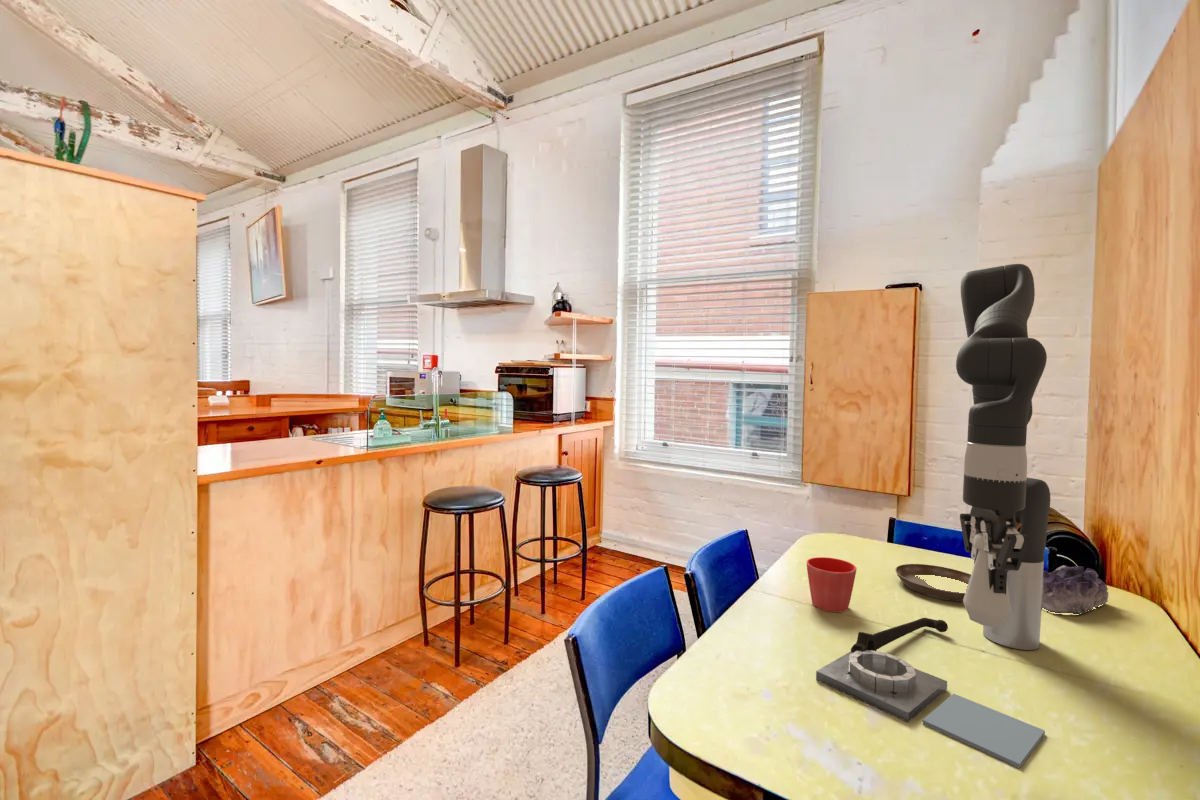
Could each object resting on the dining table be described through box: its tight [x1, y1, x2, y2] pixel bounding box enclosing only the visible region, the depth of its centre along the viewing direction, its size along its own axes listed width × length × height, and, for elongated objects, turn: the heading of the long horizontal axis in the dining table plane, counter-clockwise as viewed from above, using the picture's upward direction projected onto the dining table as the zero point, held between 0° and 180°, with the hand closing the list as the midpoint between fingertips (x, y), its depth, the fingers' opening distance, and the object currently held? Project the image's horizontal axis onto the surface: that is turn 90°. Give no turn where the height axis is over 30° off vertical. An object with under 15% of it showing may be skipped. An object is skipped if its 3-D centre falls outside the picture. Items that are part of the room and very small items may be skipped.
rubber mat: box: [922, 693, 1046, 769], centre depth 83 cm, size 12×12×1 cm
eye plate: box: [815, 650, 948, 723], centre depth 95 cm, size 15×15×4 cm
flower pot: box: [806, 556, 857, 613], centre depth 128 cm, size 11×11×10 cm
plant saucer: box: [894, 563, 972, 602], centre depth 141 cm, size 21×21×3 cm
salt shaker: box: [962, 533, 1011, 627], centre depth 82 cm, size 6×6×13 cm
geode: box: [1042, 564, 1109, 614], centre depth 132 cm, size 20×12×10 cm, turn 123°
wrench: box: [850, 617, 949, 653], centre depth 107 cm, size 5×5×30 cm
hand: (989, 589), depth 82 cm, fingers closed on salt shaker, 3 cm apart
